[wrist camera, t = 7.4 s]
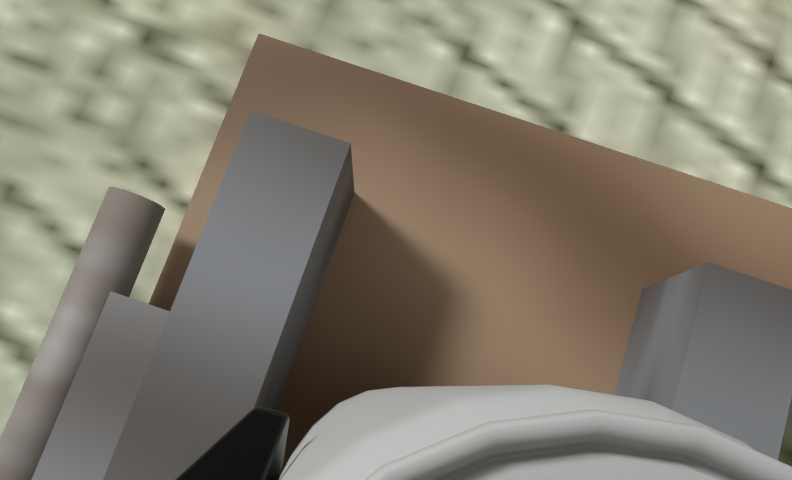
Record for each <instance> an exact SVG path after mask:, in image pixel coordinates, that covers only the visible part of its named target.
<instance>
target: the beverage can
mask: <svg viewBox="0 0 792 480" xmlns="http://www.w3.org/2000/svg"><path fill="white" fill-rule="evenodd" d="M279 480H792V466H789V465H787V464H785V463H783V462H780V461H778V460H776V459H774V458H771V457H769V456H767V455H765V454H762V453H760V452H758V451H756V450H754V449H752V448H751V447H750V446H748V445H747V444H746V443H744V442H743V441H741V440H739V439H737V438H734V437H732V436H730V435H728V434H725V433H723V432H721V431H718V430H716V429H714V428H712V427H709V426H707V425H705V424H703V423H700V422H698V421H696V420H694V419H691V418H689V417H687V416H684V415H682V414H680V413H678V412H675V411H673V410H671V409H669V408H666V407H664V406H662V405H660V404H657V403H655V402H653V401H648V400H643V399H636V398H630V397H624V396H617V395H611V394H605V393H598V392H592V391H586V390H579V389H573V388H567V387H561V386H554V385H493V386H430V387H394V388H386V389H377V390H369V391H365V392H363V393H361V394H358V395H356V396H354V397H351V398H349V399H346V400H344V401H342V402H339V403H338V404H336V405H335V406H334V407H333V408H332V409H331V410H329V411H328V412H327V413H326V414H325V415H324V416H322V417H321V418H320V419H319V420H318V421H317V422H315V423H314V424H313V425H312V427H311V428H310V429H309V431H308V432H307V433H306V435H305V436H304V438H303V439H302V440H301V442H300V443H299V444H298V446H297V447H296V448H295V450H294V451H293V453H292V455H291V457H290V459H289V460H288V462H287V464H286V466H285V468H284V470H283V472H282V474H281V476H280V478H279Z"/></svg>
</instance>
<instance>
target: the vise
mask: <svg viewBox="0 0 792 480" xmlns="http://www.w3.org/2000/svg"><path fill="white" fill-rule="evenodd" d="M164 211H165V208H163V207H162V206H161V205H159V204H157V203H155V202H153V201H151V200H149V199H147V198H144V197H142V196H140V195H137V194H134V193H132V192H129V191H126V190H123V189H119V188H115V187H109V188H108V191H107V193H106V195H105V198H104V200H103V202H102V205H101V207H100V209H99V211H98V214H97V216H96V218H95V221H94V223H93V225H92V228H91V230H90V232H89V235H88V237H87V239H86V242H85V244H84V246H83V249H82V251H81V253H80V255H79V258H78V260H77V262H76V265H75V267H74V269H73V272H72V274H71V276H70V279H69V281H68V283H67V286H66V288H65V290H64V293H63V295H62V297H61V299H60V302H59V304H58V306H57V309H56V311H55V313H54V316H53V318H52V320H51V323H50V325H49V327H48V330H47V332H46V334H45V337H44V339H43V341H42V343H41V346H40V348H39V350H38V353H37V355H36V357H35V360H34V362H33V364H32V367H31V369H30V371H29V374H28V376H27V378H26V381H25V383H24V385H23V387H22V390H21V392H20V394H19V397H18V399H17V401H16V404H15V406H14V408H13V411H12V413H11V415H10V418H9V420H8V422H7V425H6V427H5V429H4V431H3V434H2V436H1V438H0V480H175V479H176V478H177V477H178V476H180V475H181V474H182V473H183V472H184V471H185V470H186V469H187V468H188V467H189V466H190V465H192V464H193V463H194V462H195V461H196V460H197V459H198V458H199V457H200V456H201V455H202V454H204V453H205V452H206V451H207V450H208V449H209V448H210V447H211V446H212V445H213V444H214V443H216V442H217V441H218V440H219V439H220V438H221V437H222V436H223V435H224V434H225V433H226V432H228V431H229V430H230V429H231V428H232V427H233V426H234V425H235V424H236V423H237V422H239V421H240V420H241V419H242V418H243V417H244V416H245V415H246V414H247V413H248V412H249V411H251V410H252V409H253V408H255V407H258V406H261V407H266V408H270V409H275V410H279V411H284V412H286V413H287V414H288V415H289V427H288V434H287V440H286V447H285V454H284V460H283V465H282V470H281V474H282V472H283V470H284V468H285V466H286V464H287V462H288V460H289V459H290V457H291V455H292V453H293V451H294V450H295V448H296V447H297V446H298V444H299V443H300V442H301V440H302V439H303V438H304V436H305V435H306V433H307V432H308V431H309V429H310V428H311V427H312V425H313V424H314V423H315V422H317V421H318V420H319V419H320V418H321V417H322V416H324V415H325V414H326V413H327V412H328V411H329V410H331V409H332V408H333V407H334V406H335V405H336V404H338V403H339V402H342V401H344V400H346V399H349V398H351V397H354V396H356V395H358V394H361V393H363V392H365V391H369V390H377V389H386V388H394V387H430V386H493V385H554V386H561V387H567V388H573V389H579V390H586V391H592V392H598V393H605V394H611V395H617V396H624V397H630V398H636V399H643V400H648V401H653V402H655V403H657V404H660V405H662V406H664V407H666V408H669V409H671V410H673V411H675V412H678V413H680V414H682V415H684V416H687V417H689V418H691V419H694V420H696V421H698V422H700V423H703V424H705V425H707V426H709V427H712V428H714V429H716V430H718V431H721V432H723V433H725V434H728V435H730V436H732V437H734V438H737V439H739V440H741V441H743V442H744V443H746V444H747V445H748V446H750V447H751V448H752V449H754V450H756V451H758V452H760V453H762V454H765V455H767V456H769V457H771V458H774V459H776V460H778V458H779V453H780V449H781V444H782V440H783V435H784V431H785V426H786V422H787V417H788V412H789V408H790V403H791V399H792V208H789V207H786V206H783V205H780V204H777V203H774V202H770V201H767V200H764V199H761V198H758V197H755V196H752V195H749V194H746V193H743V192H740V191H737V190H734V189H731V188H728V187H725V186H722V185H719V184H716V183H713V182H710V181H706V180H703V179H700V178H697V177H694V176H691V175H688V174H685V173H682V172H679V171H676V170H673V169H670V168H667V167H664V166H661V165H658V164H655V163H652V162H649V161H646V160H643V159H639V158H636V157H633V156H630V155H627V154H624V153H621V152H618V151H615V150H612V149H609V148H606V147H603V146H600V145H597V144H594V143H591V142H588V141H585V140H582V139H579V138H575V137H572V136H569V135H566V134H563V133H560V132H557V131H554V130H551V129H548V128H545V127H542V126H539V125H536V124H533V123H530V122H527V121H524V120H521V119H518V118H515V117H512V116H508V115H505V114H502V113H499V112H496V111H493V110H490V109H487V108H484V107H481V106H478V105H475V104H472V103H469V102H466V101H463V100H460V99H457V98H454V97H451V96H448V95H444V94H441V93H438V92H435V91H432V90H429V89H426V88H423V87H420V86H417V85H414V84H411V83H408V82H405V81H402V80H399V79H396V78H393V77H390V76H387V75H384V74H381V73H377V72H374V71H371V70H368V69H365V68H362V67H359V66H356V65H353V64H350V63H347V62H344V61H341V60H338V59H335V58H332V57H329V56H326V55H323V54H320V53H317V52H313V51H310V50H307V49H304V48H301V47H298V46H295V45H292V44H289V43H286V42H283V41H280V40H277V39H274V38H271V37H268V36H265V35H262V34H258V37H257V39H256V42H255V44H254V46H253V49H252V51H251V54H250V56H249V59H248V61H247V64H246V66H245V69H244V71H243V74H242V76H241V78H240V81H239V83H238V86H237V88H236V91H235V93H234V96H233V98H232V101H231V103H230V105H229V108H228V110H227V113H226V115H225V118H224V120H223V123H222V125H221V128H220V130H219V133H218V135H217V137H216V140H215V142H214V145H213V147H212V150H211V152H210V155H209V157H208V160H207V162H206V165H205V167H204V169H203V172H202V174H201V177H200V179H199V182H198V184H197V187H196V189H195V192H194V194H193V197H192V199H191V201H190V204H189V206H188V209H187V211H186V214H185V216H184V219H183V221H182V224H181V226H180V228H179V231H178V233H177V236H176V238H175V241H174V243H173V246H172V248H171V251H170V253H169V256H168V258H167V260H166V263H165V265H164V268H163V270H162V273H161V275H160V278H159V280H158V283H157V285H156V288H155V290H154V292H153V295H152V297H151V300H150V302H149V304H147V303H144V302H141V301H138V300H135V299H132V298H129V295H130V293H131V291H132V288H133V286H134V283H135V281H136V278H137V276H138V274H139V271H140V269H141V266H142V264H143V262H144V259H145V257H146V254H147V252H148V249H149V247H150V245H151V242H152V240H153V237H154V235H155V232H156V230H157V228H158V225H159V223H160V220H161V218H162V216H163V213H164ZM281 474H280V476H281Z"/></svg>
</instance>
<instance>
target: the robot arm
mask: <svg viewBox="0 0 792 480" xmlns="http://www.w3.org/2000/svg"><path fill="white" fill-rule="evenodd" d="M288 427H289V415H288V414H287V413H286V412H284V411H279V410H275V409H270V408H266V407H261V406H258V407H255V408H253V409H252V410H251V411H249V412H248V413H247V414H246V415H245V416H244V417H243V418H242V419H241V420H240V421H239V422H237V423H236V424H235V425H234V426H233V427H232V428H231V429H230V430H229V431H228V432H226V433H225V434H224V435H223V436H222V437H221V438H220V439H219V440H218V441H217V442H216V443H214V444H213V445H212V446H211V447H210V448H209V449H208V450H207V451H206V452H205V453H204V454H202V455H201V456H200V457H199V458H198V459H197V460H196V461H195V462H194V463H193V464H192V465H190V466H189V467H188V468H187V469H186V470H185V471H184V472H183V473H182V474H181V475H180V476H178V477H177V478H176V479H175V480H279V478H280V474H281V470H282V465H283V460H284V454H285V447H286V440H287V434H288Z"/></svg>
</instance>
